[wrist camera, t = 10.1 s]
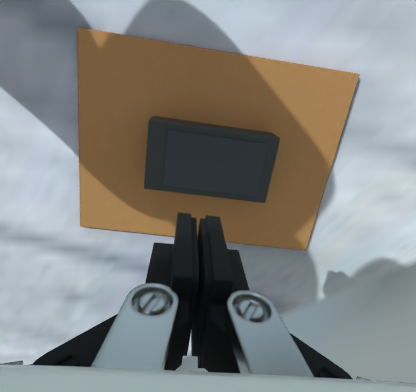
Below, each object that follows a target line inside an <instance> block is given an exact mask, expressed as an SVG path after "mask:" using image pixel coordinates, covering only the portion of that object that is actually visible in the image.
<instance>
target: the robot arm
mask: <svg viewBox="0 0 416 392" xmlns="http://www.w3.org/2000/svg"><path fill="white" fill-rule="evenodd" d="M190 334H191V342H192V356H198V368H205V369H206V370H207V371H208V372H194V371H175V370H176V369H177V368H178V367H179V366H180V365H181V364H182V357H183V356H187V352H188V346H189V340H190ZM0 392H416V384H413V383H402V382H387V381H373V380H369V379H365V378H361V377H357V378H356V380H355V379H352V378H351V376H350V375H349V374H348V373H346V372H345V371H344V370H343V369H342V368H340V367H339V366H337V365H336V364H334V363H333V362H331V361H330V360H329V359H327V358H326V357H324V356H323V355H321V354H320V353H318V352H317V351H315V350H314V349H313V348H311V347H309V346H308V345H307V344H305V343H304V342H302V341H301V340H299V339H298V338H296V337H295V336H293V335H292V334H290V333H289V331H288V329H287V327H286V326H285V324H284V322H283V320H282V319H281V317H280V315H279V313H278V311H277V310H276V308H275V306H274V305H273V303H272V302H271V301H270V300H269V299H268V298H266V297H265V296H264V295H262V294H260V293H257V292H254V291H250V290H249V287H248V284H247V280H246V277H245V273H244V269H243V266H242V262H241V259H240V255H239V252H238V251H237V250H229V249H227V247H226V243H225V238H224V233H223V229H222V224H221V219H220V217H218V216H208V215H206V217H205V219H203V218H200V223H199V229H198V236H197V220H196V218H193V217H191V214H189V213H180V212H178V214H177V223H176V231H175V240H174V244H165V243H154V245H153V250H152V255H151V259H150V264H149V269H148V274H147V278H146V283H145V284H142V285H139V286H137V287H135V288H134V289H132V290H131V291H130V293H129V294H128V295H127V297H126V299H125V301H124V303H123V305H122V307H121V309H120V311H119V313H118V314H117V315H115V316H113V317H111V318H109V319H108V320H106V321H104V322H102V323H100V324H98V325H97V326H95V327H93V328H91V329H89V330H88V331H86V332H84V333H82V334H80V335H78V336H77V337H75V338H73V339H71V340H69V341H68V342H66V343H64V344H62V345H60V346H58V347H57V348H55V349H53V350H51V351H49V352H47V353H46V354H44V355H43V356H41V357H40V358H39V359H37V360H36V361H35V362H34V363H33V364H30V365H23V361H17V362H10V363H3V364H0Z"/></svg>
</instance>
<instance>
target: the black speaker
mask: <svg viewBox="0 0 416 392" xmlns="http://www.w3.org/2000/svg"><path fill="white" fill-rule="evenodd" d="M279 143H280V138H279V137H278V136H276V135H275V134H273V133H271V132H264V131H257V130H250V129H243V128H236V127H229V126H222V125H215V124H208V123H201V122H194V121H187V120H180V119H173V118H166V117H159V116H153V117H152V118H150V119H149V122H148V137H147V151H146V165H145V180H144V189H151V190H159V191H168V192H176V193H184V194H193V195H201V196H209V197H218V198H226V199H234V200H243V201H251V202H259V203H265V202H266V198H267V194H268V190H269V185H270V181H271V177H272V173H273V168H274V164H275V160H276V155H277V151H278V147H279Z"/></svg>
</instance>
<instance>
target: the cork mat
mask: <svg viewBox="0 0 416 392" xmlns="http://www.w3.org/2000/svg"><path fill="white" fill-rule="evenodd" d="M77 41H78V109H79V177H80V226H81V227H90V228H99V229H109V230H118V231H127V232H137V233H146V234H156V235H165V236H174V237H175V231H176V223H177V214H178V212H180V213H189V214H191V217H193V218H196V220H197V236H198V229H199V223H200V218H203V219H205V217H206V215H208V216H218V217H220V219H221V224H222V229H223V233H224V238H225V242H231V243H240V244H250V245H259V246H269V247H278V248H287V249H297V250H306V248H307V244H308V241H309V238H310V235H311V231H312V228H313V225H314V222H315V218H316V215H317V212H318V209H319V205H320V202H321V199H322V196H323V192H324V189H325V186H326V183H327V179H328V176H329V173H330V170H331V166H332V163H333V160H334V156H335V153H336V150H337V147H338V143H339V140H340V137H341V134H342V130H343V127H344V124H345V121H346V117H347V114H348V111H349V108H350V104H351V101H352V98H353V95H354V91H355V88H356V85H357V82H358V78H359V75H360V74H356V73H350V72H344V71H338V70H332V69H326V68H320V67H314V66H308V65H302V64H296V63H290V62H284V61H278V60H271V59H265V58H259V57H253V56H247V55H241V54H235V53H229V52H223V51H217V50H211V49H205V48H199V47H193V46H187V45H181V44H175V43H169V42H163V41H157V40H151V39H145V38H139V37H133V36H127V35H121V34H115V33H109V32H103V31H97V30H91V29H85V28H79V27H78V28H77ZM153 116H159V117H166V118H173V119H180V120H187V121H194V122H201V123H208V124H215V125H222V126H229V127H236V128H243V129H250V130H257V131H264V132H271V133H273V134H275V135H276V136H278V137H279V138H280V143H279V147H278V151H277V155H276V160H275V164H274V168H273V173H272V177H271V181H270V185H269V190H268V194H267V198H266V202H265V203H259V202H251V201H243V200H234V199H226V198H218V197H209V196H201V195H193V194H184V193H176V192H168V191H159V190H151V189H144V180H145V165H146V151H147V137H148V122H149V119H150V118H152V117H153Z"/></svg>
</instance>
